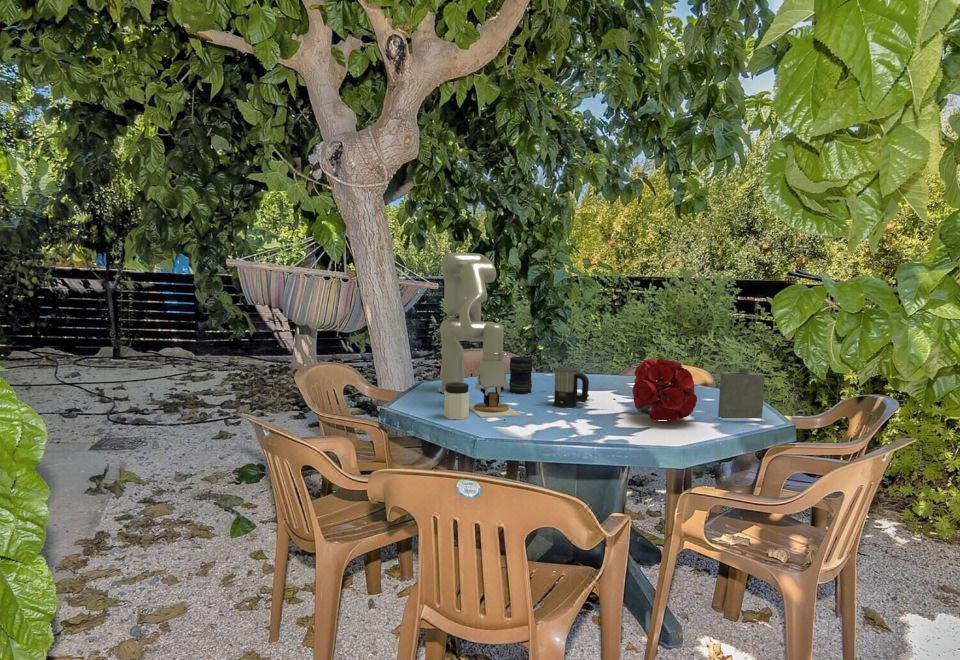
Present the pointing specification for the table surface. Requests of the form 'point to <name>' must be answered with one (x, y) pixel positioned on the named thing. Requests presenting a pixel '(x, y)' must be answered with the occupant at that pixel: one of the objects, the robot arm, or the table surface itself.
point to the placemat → (490, 415)
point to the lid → (491, 405)
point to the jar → (456, 401)
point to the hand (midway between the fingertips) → (491, 404)
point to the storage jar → (520, 375)
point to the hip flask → (741, 394)
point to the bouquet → (664, 389)
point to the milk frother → (569, 387)
